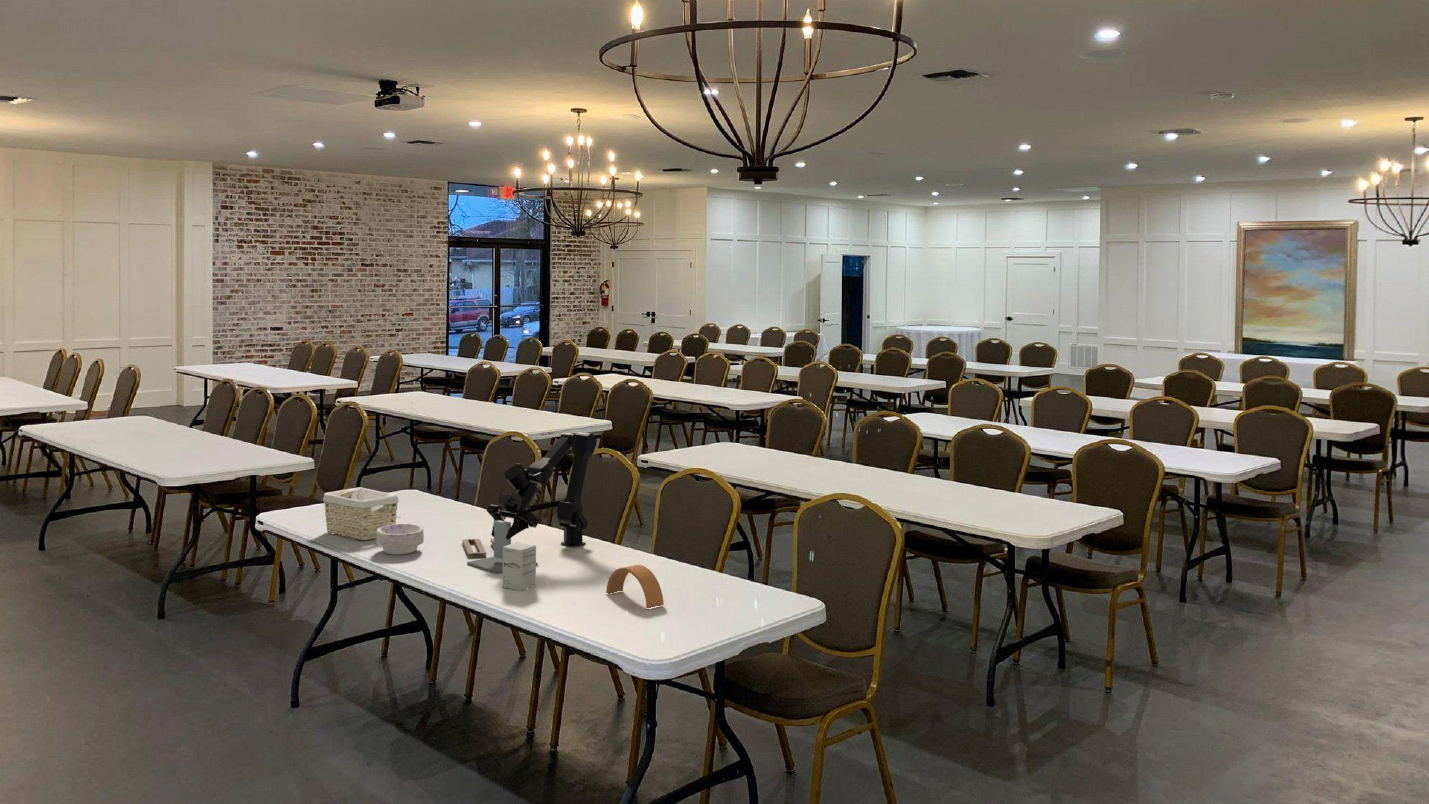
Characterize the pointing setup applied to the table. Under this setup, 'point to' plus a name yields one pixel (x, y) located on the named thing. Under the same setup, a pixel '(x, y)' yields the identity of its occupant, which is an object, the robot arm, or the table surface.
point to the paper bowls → (400, 538)
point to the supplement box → (519, 566)
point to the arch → (645, 580)
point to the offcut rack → (478, 545)
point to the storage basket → (359, 512)
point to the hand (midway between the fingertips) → (499, 537)
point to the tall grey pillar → (500, 537)
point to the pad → (489, 564)
